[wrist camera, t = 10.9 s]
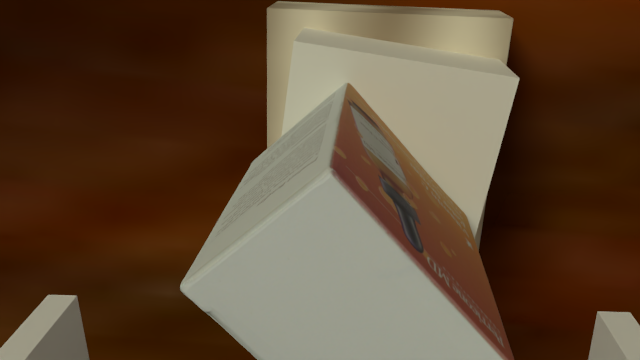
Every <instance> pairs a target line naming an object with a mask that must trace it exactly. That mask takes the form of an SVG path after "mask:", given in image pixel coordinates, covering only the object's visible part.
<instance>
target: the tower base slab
mask: <svg viewBox="0 0 640 360" xmlns="http://www.w3.org/2000/svg"><path fill="white" fill-rule="evenodd" d="M512 25H513V18H511V17H510V16H508V15H506V14H504V13H502V12H501V11H496V10H472V9H448V8H425V7H401V6H377V5H353V4H329V3H305V2H281V1H278V2H276V3H274V4H273V5H271V6H270V7H268V8H267V149H268V148H269V147H270V146H271V145H272V144H273V143H275V142H276V141H277V140H278V139H279V138H280V137H281V135H282V127H283V119H284V111H285V104H286V96H287V88H288V81H289V73H290V65H291V58H292V50H293V42H294V40H295V39H296V37H297V36H298V35H299V34H300V32H301V31H302V30H303V29H304V28H310V29H316V30H323V31H329V32H335V33H341V34H347V35H353V36H359V37H365V38H371V39H377V40H383V41H389V42H395V43H401V44H408V45H414V46H420V47H426V48H432V49H438V50H444V51H450V52H456V53H462V54H468V55H474V56H480V57H486V58H493V59H499V60H500V61H502V62H503V63H504V64H505V65H507V58H508V51H509V45H510V38H511V31H512ZM486 198H487V196H486ZM485 205H486V200H485V204H484V207H483V211H482V214H481V218H480V221H479V225H478V228H477V232H476V236H475V242H476V245H477V248H478V251H479V245H480V238H481V232H482V225H483V218H484V212H485Z"/></svg>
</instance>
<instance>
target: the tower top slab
mask: <svg viewBox="0 0 640 360" xmlns="http://www.w3.org/2000/svg"><path fill="white" fill-rule="evenodd" d="M519 79H520V78H519V77H518V76H517V75H516V74H515V73H513V72H512V71H511V70H510V69H509V68H508V67H507V66H506V65H505V64H504V63H503V62H502V61H500V60H499V59H493V58H486V57H480V56H474V55H468V54H462V53H456V52H450V51H444V50H438V49H432V48H426V47H420V46H414V45H408V44H401V43H395V42H389V41H383V40H377V39H371V38H365V37H359V36H353V35H347V34H341V33H335V32H329V31H323V30H316V29H310V28H304V29H303V30H302V31H301V32H300V34H299V35H298V36H297V37H296V39H295V40H294V42H293V50H292V58H291V65H290V73H289V81H288V88H287V96H286V104H285V111H284V119H283V127H282V135H281V137H282V136H283V135H284V134H285V133H286V132H287V131H289V130H290V129H291V128H292V127H293V126H294V125H296V124H297V123H298V122H299V121H300V120H301V119H303V118H304V117H305V116H306V115H307V114H308V113H310V112H311V111H312V110H313V109H314V108H315V107H317V106H318V105H319V104H320V103H321V102H322V101H324V100H325V99H326V98H327V97H328V96H330V95H331V94H332V93H333V92H335V91H336V90H337V89H338V88H339V87H341V86H342V85H343V84H344V83H350V84H351V85H352V86H353V87H354V88H355V89H356V91H357V92H358V93H359V94H360V95H361V96H362V98H363V99H364V100H365V101H366V102H367V104H368V105H369V106H370V107H371V108H372V109H373V110H374V112H375V113H376V114H377V115H378V116H379V117H380V119H381V120H382V121H383V122H384V123H385V124H386V125H387V126H388V128H389V129H390V130H391V131H392V132H393V133H394V135H395V136H396V137H397V138H398V139H399V140H400V142H401V143H402V144H403V145H404V146H405V147H406V149H407V150H408V151H409V152H410V153H411V155H412V156H413V157H414V158H415V159H416V160H417V162H418V163H419V164H420V165H421V166H422V167H423V169H424V170H425V171H426V172H427V173H428V174H429V175H430V176H431V178H432V179H433V180H434V181H435V182H436V183H437V184H438V185H439V186H440V188H441V189H442V190H443V191H444V192H445V193H446V194H447V195H448V196H449V197H450V198H451V199H452V200H453V201H454V202H455V204H456V205H457V206H458V207H459V208H460V209H461V210H462V211H463V212H464V213H465V215H466V216H467V218H468V221H469V224H470V227H471V230H472V233H473V236H474V239H475V236H476V232H477V228H478V225H479V221H480V218H481V214H482V211H483V207H484V204H485V200H486V196H487V193H488V189H489V186H490V182H491V179H492V175H493V171H494V168H495V164H496V161H497V157H498V154H499V150H500V146H501V143H502V139H503V136H504V132H505V129H506V125H507V121H508V118H509V114H510V111H511V107H512V104H513V100H514V97H515V93H516V89H517V86H518V82H519Z"/></svg>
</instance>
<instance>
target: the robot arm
mask: <svg viewBox="0 0 640 360" xmlns="http://www.w3.org/2000/svg"><path fill="white" fill-rule="evenodd" d="M0 360H89V356H88V351H87V346H86V340H85V335H84V330H83V325H82V320H81V315H80V309H79V304H78V299H77V296H71V295H48V296H47V297H46V298H45V299H44V300H43V301H42V303H41V304H40V305H39V306H38V307H37V308H36V309H35V310H34V311H33V313H32V314H31V315H30V316H29V317H28V318H27V319H26V320H25V322H24V323H23V324H22V325H21V326H20V327H19V328H18V329H17V330H16V332H15V333H14V334H13V335H12V336H11V337H10V338H9V339H8V341H7V342H6V343H5V344H4V345H3V346H2V347H1V348H0ZM588 360H640V326H639V324H638V323H637V322H636V320H635V319H634V317H633V316H632V315H631V313H630V312H599V311H598V312H597V317H596V322H595V327H594V333H593V338H592V343H591V348H590V353H589V359H588Z"/></svg>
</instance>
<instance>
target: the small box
mask: <svg viewBox="0 0 640 360" xmlns="http://www.w3.org/2000/svg"><path fill="white" fill-rule="evenodd" d="M180 290H181V292H182V293H184V294H185V295H186V296H187V297H188V298H189V299H191V300H192V301H193V302H194V303H195V304H196V305H197V306H198V307H199V308H200V309H202V310H203V311H205V312H206V313H207V314H208V315H209V316H211V317H212V318H213V319H214V320H215V321H216V322H217V323H219V324H220V325H221V326H222V327H223V328H224V329H225V330H226V331H227V332H228V333H229V334H230V335H232V336H233V337H234V338H235V339H236V340H237V341H238V342H239V343H240V344H241V345H242V346H243V347H244V348H245V349H247V350H248V351H249V352H250V353H251V354H252V355H253V356H254V357H255V358H256V359H257V360H514V357H513V354H512V351H511V348H510V345H509V342H508V339H507V336H506V333H505V330H504V327H503V324H502V321H501V317H500V314H499V311H498V309H497V306H496V303H495V299H494V296H493V293H492V291H491V287H490V284H489V281H488V278H487V275H486V272H485V269H484V266H483V264H482V260H481V257H480V254H479V251H478V248H477V245H476V242H475V239H474V236H473V233H472V230H471V227H470V224H469V221H468V218H467V216H466V215H465V213H464V212H463V211H462V210H461V209H460V208H459V207H458V206H457V205H456V204H455V202H454V201H453V200H452V199H451V198H450V197H449V196H448V195H447V194H446V193H445V192H444V191H443V190H442V189H441V188H440V186H439V185H438V184H437V183H436V182H435V181H434V180H433V179H432V178H431V176H430V175H429V174H428V173H427V172H426V171H425V170H424V169H423V167H422V166H421V165H420V164H419V163H418V162H417V160H416V159H415V158H414V157H413V156H412V155H411V153H410V152H409V151H408V150H407V149H406V147H405V146H404V145H403V144H402V143H401V142H400V140H399V139H398V138H397V137H396V136H395V135H394V133H393V132H392V131H391V130H390V129H389V128H388V126H387V125H386V124H385V123H384V122H383V121H382V120H381V119H380V117H379V116H378V115H377V114H376V113H375V112H374V110H373V109H372V108H371V107H370V106H369V105H368V104H367V102H366V101H365V100H364V99H363V98H362V96H361V95H360V94H359V93H358V92H357V91H356V89H355V88H354V87H353V86H352V85H351V84H350V83H344V84H343V85H342V86H341V87H339V88H338V89H337V90H336V91H335V92H333V93H332V94H331V95H330V96H328V97H327V98H326V99H325V100H324V101H322V102H321V103H320V104H319V105H318V106H317V107H315V108H314V109H313V110H312V111H311V112H310V113H308V114H307V115H306V116H305V117H304V118H303V119H301V120H300V121H299V122H298V123H297V124H296V125H294V126H293V127H292V128H291V129H290V130H289V131H287V132H286V133H285V134H284V135H283V136H282V137H280V138H279V139H278V140H277V141H276V142H275V143H273V144H272V145H271V146H270V147H269V148H268V149H266V150H265V151H264V152H263V153H262V154H261V155H260V156H259V157H257V158H256V159H255V160H254V161H253V162H252V164H251V166H250V167H249V169H248V171H247V172H246V174H245V176H244V177H243V179H242V181H241V182H240V184H239V186H238V187H237V189H236V191H235V193H234V194H233V196H232V198H231V199H230V201H229V203H228V204H227V206H226V208H225V209H224V211H223V213H222V214H221V216H220V218H219V220H218V222H217V223H216V225H215V227H214V228H213V230H212V232H211V234H210V235H209V237H208V239H207V240H206V242H205V244H204V246H203V247H202V249H201V251H200V252H199V254H198V256H197V257H196V259H195V261H194V263H193V264H192V266H191V268H190V269H189V271H188V273H187V274H186V276H185V278H184V279H183V281H182V282H181V285H180Z"/></svg>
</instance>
